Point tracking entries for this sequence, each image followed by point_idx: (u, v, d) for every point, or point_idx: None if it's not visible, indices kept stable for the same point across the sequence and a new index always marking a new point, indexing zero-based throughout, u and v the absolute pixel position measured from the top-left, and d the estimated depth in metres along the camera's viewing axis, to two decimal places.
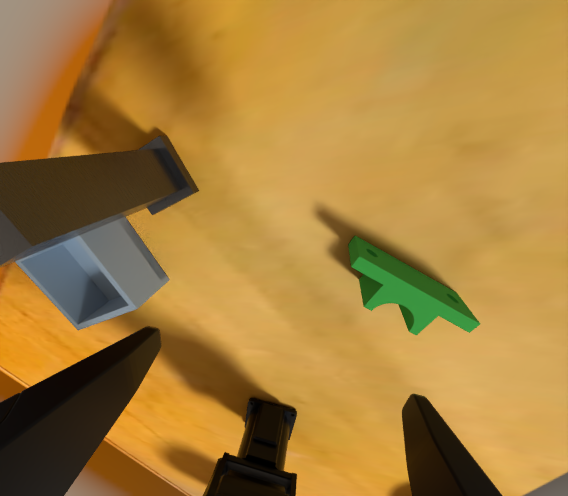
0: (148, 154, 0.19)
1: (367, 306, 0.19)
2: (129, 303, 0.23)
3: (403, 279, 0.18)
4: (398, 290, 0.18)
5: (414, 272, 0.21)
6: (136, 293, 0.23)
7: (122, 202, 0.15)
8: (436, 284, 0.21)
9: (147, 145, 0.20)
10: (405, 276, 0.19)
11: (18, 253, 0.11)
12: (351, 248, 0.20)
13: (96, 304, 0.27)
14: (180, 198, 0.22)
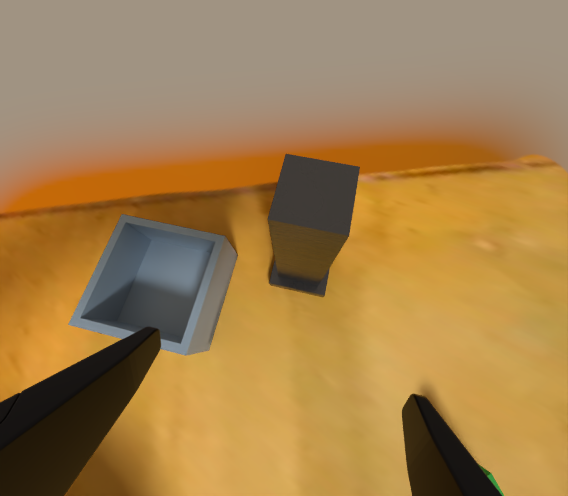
0: None
1: None
2: (184, 342, 0.17)
3: None
4: None
5: None
6: (196, 338, 0.18)
7: None
8: None
9: None
10: None
11: (324, 230, 0.11)
12: None
13: (109, 313, 0.20)
14: (309, 290, 0.22)
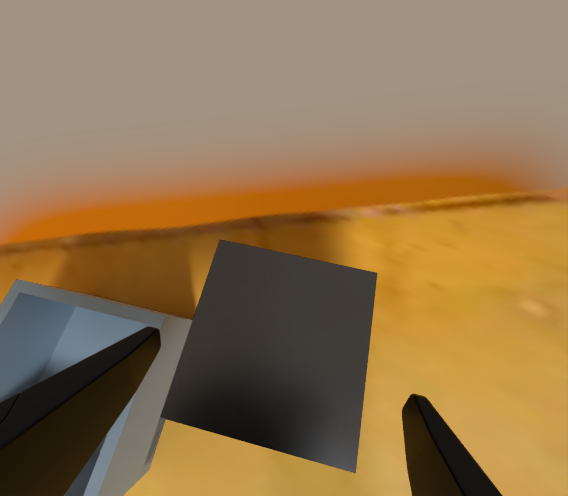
0: None
1: None
2: None
3: None
4: None
5: None
6: (109, 488, 0.11)
7: None
8: None
9: None
10: None
11: (295, 452, 0.04)
12: None
13: None
14: None
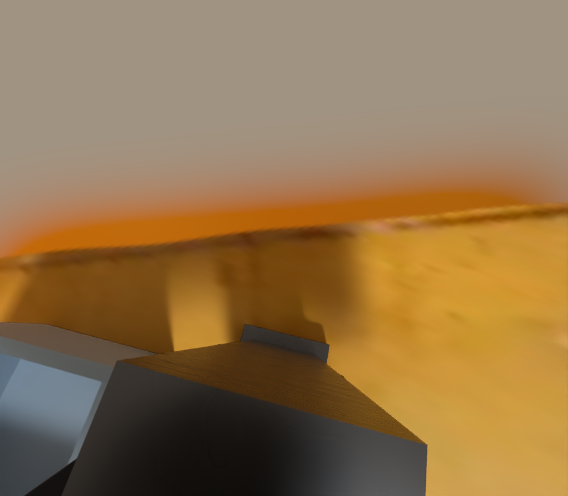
0: None
1: None
2: None
3: None
4: None
5: None
6: None
7: None
8: None
9: (304, 340, 0.14)
10: None
11: None
12: None
13: None
14: None
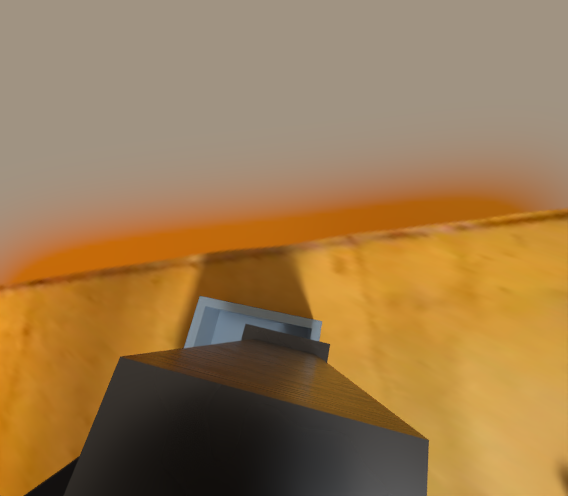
0: None
1: None
2: None
3: None
4: None
5: None
6: None
7: None
8: None
9: (304, 339, 0.14)
10: None
11: None
12: None
13: None
14: None
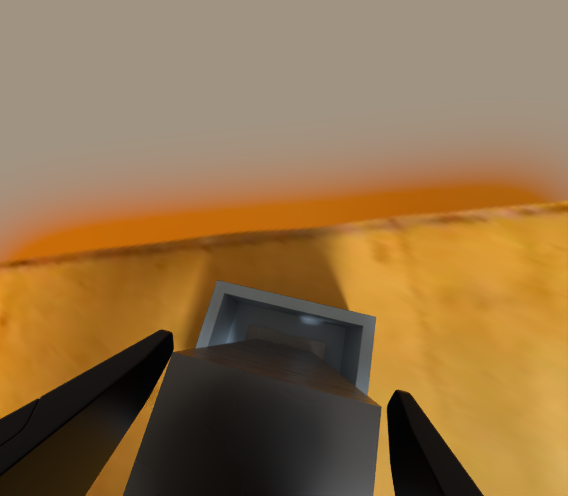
0: None
1: None
2: None
3: None
4: None
5: None
6: None
7: None
8: None
9: (303, 339, 0.16)
10: None
11: None
12: None
13: None
14: None
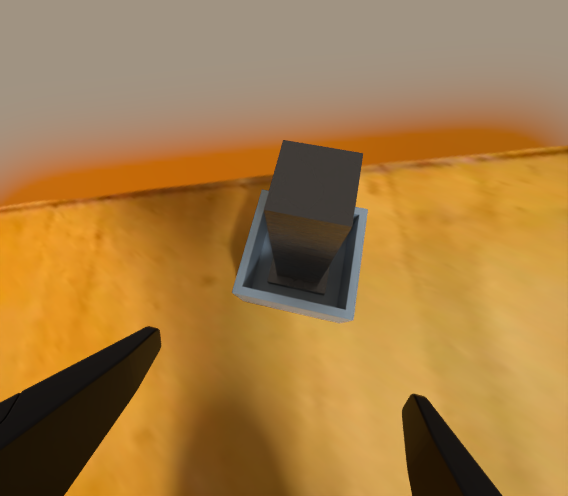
0: None
1: None
2: (349, 308, 0.18)
3: None
4: None
5: None
6: None
7: None
8: None
9: None
10: None
11: (325, 221, 0.10)
12: None
13: (249, 286, 0.21)
14: (308, 288, 0.21)
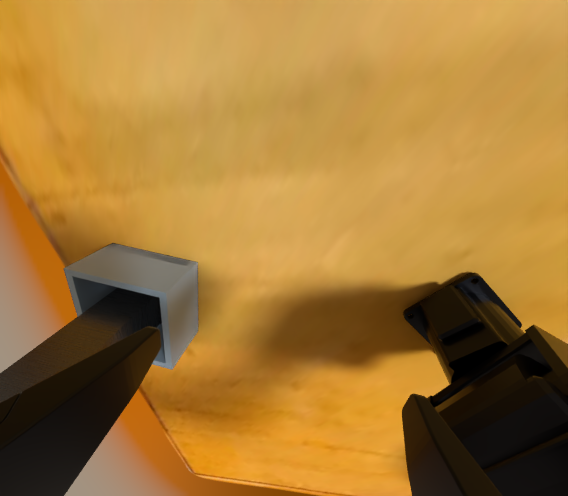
0: (116, 292, 0.22)
1: None
2: (157, 295, 0.19)
3: None
4: None
5: None
6: (159, 284, 0.20)
7: (97, 341, 0.17)
8: None
9: None
10: None
11: None
12: None
13: None
14: None
